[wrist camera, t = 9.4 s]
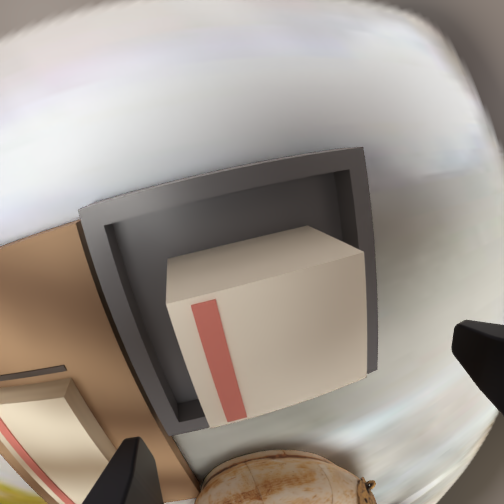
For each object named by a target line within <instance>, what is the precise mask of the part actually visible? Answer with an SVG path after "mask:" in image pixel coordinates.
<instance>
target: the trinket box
mask: <svg viewBox="0 0 504 504" xmlns="http://www.w3.org/2000/svg"><path fill="white" fill-rule="evenodd" d="M369 484H370V486H369ZM375 485H376V483H375V481H374V480H372V481H371V480H370V481H368V482H366V481H365V479H364V478H363V477H362V478H361V480H360V479H359V478H358V477H356V476H355V475H354V474H352V473H350V472H349V471H347V470H345V469H343V468H341V467H339V466H336V465H335V464H334V463H333V462H331V461H329V460H328V459H326V458H324V457H321V456H319V455H317V454H314V453H310V452H305V451H298V450H268V451H261V452H256V453H252V454H247V455H243V456H240V457H237V458H234V459H231V460H229V461H226V462H224V463H222V464H221V465H219V466H217V467H216V468H214V469H213V470H212V471H211V472H210V473H209V474H208V475H207V476H206V477H205V479H204V482H203V484H202V488H201V492H200V494H199V495H198V497H197V499H196V501H195V504H377V503H376V500H375V497H374V495H373V494H372V492H371V489H373V488H374V486H375Z"/></svg>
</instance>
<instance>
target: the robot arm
mask: <svg viewBox="0 0 504 504" xmlns="http://www.w3.org/2000/svg"><path fill="white" fill-rule="evenodd" d="M452 353H453V355H454V356H455V357H456V359H457V360H458V361H459V362H460V364H461V365H462V366H463V368H464V369H465V370H466V372H467V373H468V374H469V376H470V377H471V378H472V380H473V381H474V383H475V384H476V385H477V386H478V388H479V389H480V390H481V391H482V392H483V393H484V394H485V396H486V397H487V398H488V399H489V400H490V401H491V402H492V403H493V405H494V406H495V407H496V408H497V409H498V410H499V411H500V412H501V413H502V415H503V416H504V325H500V324H493V323H486V322H478V321H472V320H464V321H462V322H460V323H459V324H457V325H456V326H455V328H454V333H453V340H452ZM82 504H164V502H163V497H162V492H161V487H160V482H159V477H158V472H157V466H156V462H155V459H154V456H153V455H152V453H151V452H150V450H149V448H148V447H147V445H146V444H145V442H144V441H143V439H142V438H141V437H138V436H137V437H131V438H126V439H124V440H123V441H122V443H121V444H120V446H119V447H118V449H117V450H116V452H115V453H114V455H113V456H112V458H111V460H110V461H109V463H108V464H107V466H106V467H105V469H104V470H103V472H102V473H101V475H100V476H99V478H98V479H97V481H96V482H95V484H94V486H93V487H92V489H91V490H90V492H89V493H88V495H87V496H86V498H85V499H84V501H83V502H82Z"/></svg>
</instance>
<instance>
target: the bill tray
mask: <svg viewBox="0 0 504 504" xmlns="http://www.w3.org/2000/svg"><path fill="white" fill-rule="evenodd" d="M78 212H79V216H80V220H81V223H82V227H83V230H84V234H85V237H86V241H87V244H88V247H89V251H90V254H91V257H92V260H93V263H94V266H95V270H96V273H97V276H98V278H99V281H100V284H101V287H102V290H103V293H104V296H105V298H106V301H107V304H108V306H109V309H110V312H111V314H112V317H113V319H114V322H115V324H116V327H117V329H118V332H119V334H120V337H121V339H122V342H123V344H124V346H125V349H126V351H127V353H128V356H129V358H130V360H131V362H132V365H133V367H134V369H135V371H136V373H137V375H138V378H139V380H140V382H141V384H142V386H143V388H144V390H145V392H146V394H147V396H148V398H149V400H150V402H151V404H152V406H153V408H154V410H155V412H156V414H157V416H158V418H159V420H160V421H161V423H162V425H163V427H164V429H165V431H166V432H167V434H168V436H173V435H178V434H183V433H187V432H192V431H196V430H201V429H205V428H209V424H208V422H207V419H206V417H205V414H204V412H203V409H202V407H201V404H200V401H199V399H198V396H197V394H196V391H195V388H194V386H193V383H192V380H191V377H190V375H189V372H188V369H187V366H186V364H185V361H184V358H183V355H182V352H181V349H180V346H179V343H178V340H177V337H176V334H175V331H174V328H173V325H172V322H171V319H170V316H169V313H168V309H167V306H166V284H167V260H168V259H169V258H173V257H177V256H181V255H185V254H189V253H194V252H198V251H202V250H206V249H210V248H214V247H218V246H223V245H227V244H231V243H235V242H239V241H244V240H248V239H252V238H256V237H260V236H265V235H269V234H273V233H277V232H282V231H286V230H290V229H295V228H299V227H303V226H307V225H308V226H310V227H312V228H314V229H317V230H319V231H321V232H323V233H325V234H327V235H329V236H332V237H334V238H336V239H338V240H340V241H342V242H344V243H346V244H348V245H351V246H353V247H355V248H357V249H359V250H361V251H363V252H364V259H365V276H366V300H367V374H369V373H371V372H373V371H375V370H377V360H378V307H377V279H376V260H375V246H374V233H373V222H372V212H371V202H370V194H369V185H368V178H367V170H366V163H365V156H364V150H363V147H353V148H338V149H331V150H325V151H318V152H312V153H306V154H300V155H294V156H288V157H282V158H277V159H271V160H266V161H261V162H256V163H251V164H246V165H241V166H236V167H231V168H226V169H222V170H217V171H213V172H208V173H204V174H199V175H195V176H191V177H187V178H183V179H178V180H174V181H170V182H166V183H162V184H159V185H155V186H151V187H147V188H143V189H140V190H136V191H132V192H129V193H125V194H122V195H118V196H115V197H111V198H108V199H105V200H101V201H98V202H95V203H91V204H89V205H87V206H85V207H83V208H81V209H79V210H78Z"/></svg>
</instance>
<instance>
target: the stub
mask: <svg viewBox="0 0 504 504" xmlns="http://www.w3.org/2000/svg"><path fill="white" fill-rule="evenodd" d="M166 306H167V309H168V313H169V316H170V319H171V322H172V325H173V328H174V331H175V334H176V337H177V340H178V343H179V346H180V349H181V352H182V355H183V358H184V361H185V364H186V366H187V369H188V372H189V375H190V377H191V380H192V383H193V386H194V388H195V391H196V394H197V396H198V399H199V401H200V404H201V407H202V409H203V412H204V414H205V417H206V419H207V422H208V424H209V427H210V429H211V428H215V427H219V426H223V425H227V424H231V423H235V422H239V421H242V420H246V419H250V418H253V417H257V416H260V415H263V414H267V413H270V412H273V411H277V410H280V409H283V408H286V407H289V406H292V405H295V404H298V403H301V402H304V401H307V400H310V399H312V398H315V397H318V396H321V395H323V394H326V393H329V392H331V391H334V390H337V389H339V388H342V387H344V386H347V385H349V384H352V383H354V382H357V381H359V380H361V379H364V378H366V377H367V300H366V276H365V259H364V252H363V251H361V250H359V249H357V248H355V247H353V246H351V245H348V244H346V243H344V242H342V241H340V240H338V239H336V238H334V237H332V236H329V235H327V234H325V233H323V232H321V231H319V230H317V229H314V228H312V227H310V226H308V225H307V226H303V227H299V228H295V229H290V230H286V231H282V232H277V233H273V234H269V235H265V236H260V237H256V238H252V239H248V240H244V241H239V242H235V243H231V244H227V245H223V246H218V247H214V248H210V249H206V250H202V251H198V252H194V253H189V254H185V255H181V256H177V257H173V258H169V259H168V260H167V284H166Z"/></svg>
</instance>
